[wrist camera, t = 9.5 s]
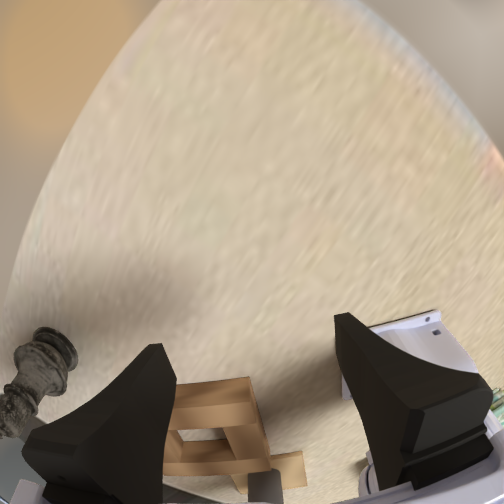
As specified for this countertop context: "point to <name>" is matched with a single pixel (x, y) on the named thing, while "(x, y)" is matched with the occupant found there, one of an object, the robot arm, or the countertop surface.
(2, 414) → the salt shaker
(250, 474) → the plug
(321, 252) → the countertop surface
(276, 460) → the coaster
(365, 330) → the robot arm
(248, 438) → the wooden square frame
